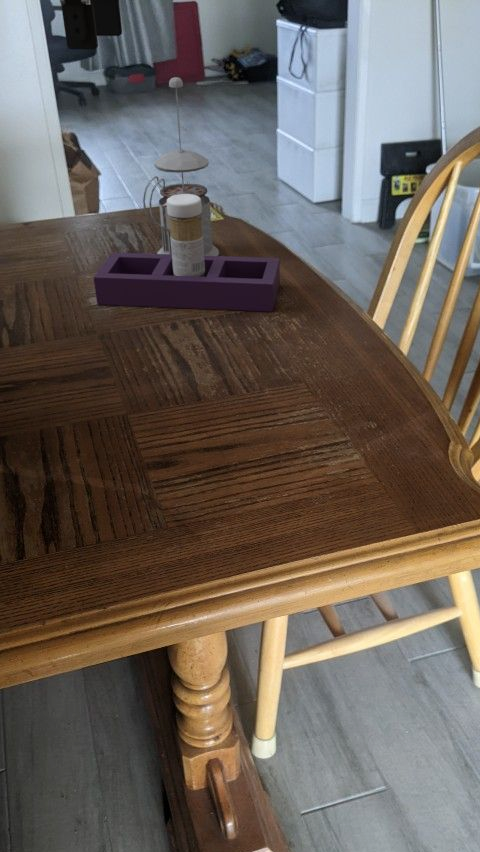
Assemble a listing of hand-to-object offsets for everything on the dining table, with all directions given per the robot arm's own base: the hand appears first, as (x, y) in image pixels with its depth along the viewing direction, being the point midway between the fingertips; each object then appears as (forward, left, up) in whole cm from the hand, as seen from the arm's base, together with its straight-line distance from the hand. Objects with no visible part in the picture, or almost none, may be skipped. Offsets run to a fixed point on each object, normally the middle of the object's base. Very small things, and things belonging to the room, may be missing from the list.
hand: (96, 41), depth 86 cm
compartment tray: (+7, +7, -32) cm, 34 cm away
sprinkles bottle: (+7, +7, -32) cm, 34 cm away
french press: (+3, +22, -32) cm, 39 cm away
